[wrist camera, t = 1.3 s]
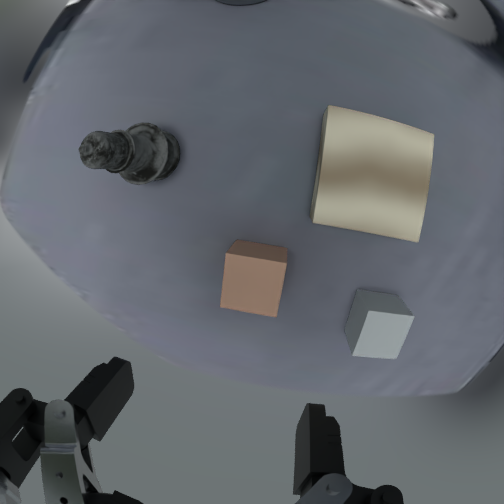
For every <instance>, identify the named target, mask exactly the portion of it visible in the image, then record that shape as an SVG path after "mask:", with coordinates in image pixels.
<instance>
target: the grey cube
mask: <svg viewBox="0 0 504 504" xmlns="http://www.w3.org/2000/svg"><path fill="white" fill-rule="evenodd" d="M413 319H414V315H413V314H412V312H411V311H410V310H409V308H408V307H407V306H406V305H405V303H404V302H403V301H402V300H401V298H400V297H399V296H398V295H393V294H387V293H380V292H374V291H367V290H361V289H357V291H356V294H355V297H354V301H353V304H352V307H351V310H350V314H349V317H348V320H347V323H346V326H345V329H344V331H345V334H346V337H347V340H348V344H349V347H350V350H351V354H352V356H361V357H373V358H387V359H396V358H397V356H398V354H399V352H400V349H401V347H402V345H403V343H404V341H405V338H406V336H407V334H408V331H409V329H410V326H411V324H412V321H413Z"/></svg>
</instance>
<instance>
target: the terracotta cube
mask: <svg viewBox="0 0 504 504" xmlns="http://www.w3.org/2000/svg"><path fill="white" fill-rule="evenodd" d="M286 266H287V248H284V247H278V246H272V245H267V244H261V243H255V242H249V241H243V240H236V241H235V242H234V244H233V245H232V246H231V247H230V249H229V250H228V251H227V252H226V257H225V266H224V275H223V284H222V294H221V303H220V307H223V308H228V309H233V310H238V311H243V312H249V313H254V314H260V315H266V316H271V317H277V312H278V307H279V302H280V297H281V292H282V287H283V282H284V276H285V271H286Z"/></svg>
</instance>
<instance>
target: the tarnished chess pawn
mask: <svg viewBox="0 0 504 504" xmlns="http://www.w3.org/2000/svg"><path fill="white" fill-rule="evenodd" d="M79 152H80V157H81V160H82V162H83V164H84V165H85V166H86V167H88V168H91V169H106V170H107V171H109V172H111V173H119V174H120V175H121V177H123V178H124V179H125V180H126V181H127V182H129V183H131V184H137V185H140V184H146V183H148V182H150V181H153V180H161V179H163V178H166V177H168V176H169V175H170V174H171V173H172V172H173V171H174V170H175V168H176V166H177V164H178V162H179V157H180V148H179V145H178V142H177V140H176V139H175V137H174V136H173V135H171V134H170V133H168V132H166V131H162V130H161V129H160V128H158V127H157V126H156V125H153V124H150V123H139V124H135V125H133V126H132V127H130V128H128V129H127V130H126V131H124V130H115V131H113V132H111V133H109V132H103V131H95V132H92V133H90V134H88V135H87V136H86V137H85V139H84V140H83V141H82V143H81V146H80V147H79Z"/></svg>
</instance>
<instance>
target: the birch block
mask: <svg viewBox="0 0 504 504" xmlns="http://www.w3.org/2000/svg"><path fill="white" fill-rule="evenodd" d="M433 144H434V134H432V133H429V132H426V131H423V130H420V129H418V128H415V127H412V126H409V125H405V124H402V123H399V122H396V121H392V120H389V119H386V118H382V117H378V116H375V115H371V114H367V113H363V112H359V111H354V110H350V109H345V108H341V107H336V106H331V105H328V107H327V109H326V111H325V113H324V114H323V123H322V131H321V140H320V148H319V156H318V163H317V171H316V178H315V185H314V192H313V198H312V205H311V211H310V218H311V220H312V222H313V223H317V224H323V225H329V226H335V227H340V228H346V229H351V230H357V231H362V232H368V233H373V234H378V235H383V236H388V237H393V238H398V239H403V240H408V241H413V242H418V241H419V237H420V232H421V228H422V223H423V218H424V213H425V207H426V201H427V195H428V189H429V182H430V174H431V166H432V156H433Z"/></svg>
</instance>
